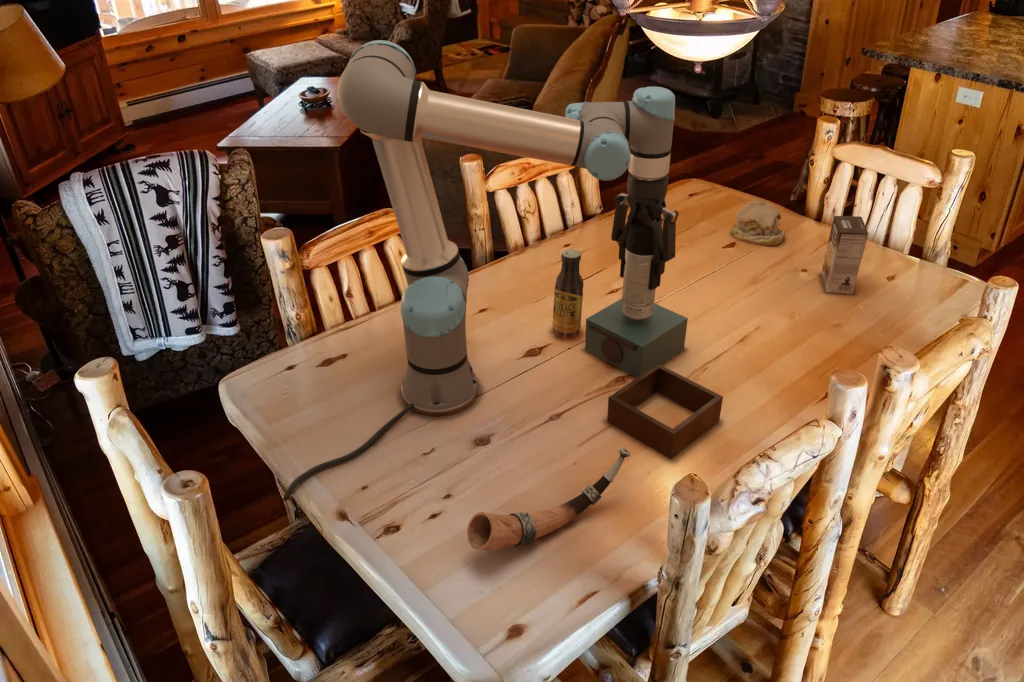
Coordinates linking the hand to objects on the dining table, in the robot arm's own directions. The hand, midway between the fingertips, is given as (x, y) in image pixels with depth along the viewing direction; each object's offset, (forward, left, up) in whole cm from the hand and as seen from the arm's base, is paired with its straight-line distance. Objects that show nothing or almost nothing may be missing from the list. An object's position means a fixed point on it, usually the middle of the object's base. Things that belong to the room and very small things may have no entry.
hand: (639, 280), depth 163 cm
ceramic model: (+66, +11, -17) cm, 69 cm away
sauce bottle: (-5, +15, -17) cm, 23 cm away
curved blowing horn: (-49, -23, -17) cm, 57 cm away
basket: (-15, -19, -17) cm, 30 cm away
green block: (0, 0, -17) cm, 17 cm away
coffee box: (+56, -17, -17) cm, 61 cm away
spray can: (0, 0, -8) cm, 8 cm away
